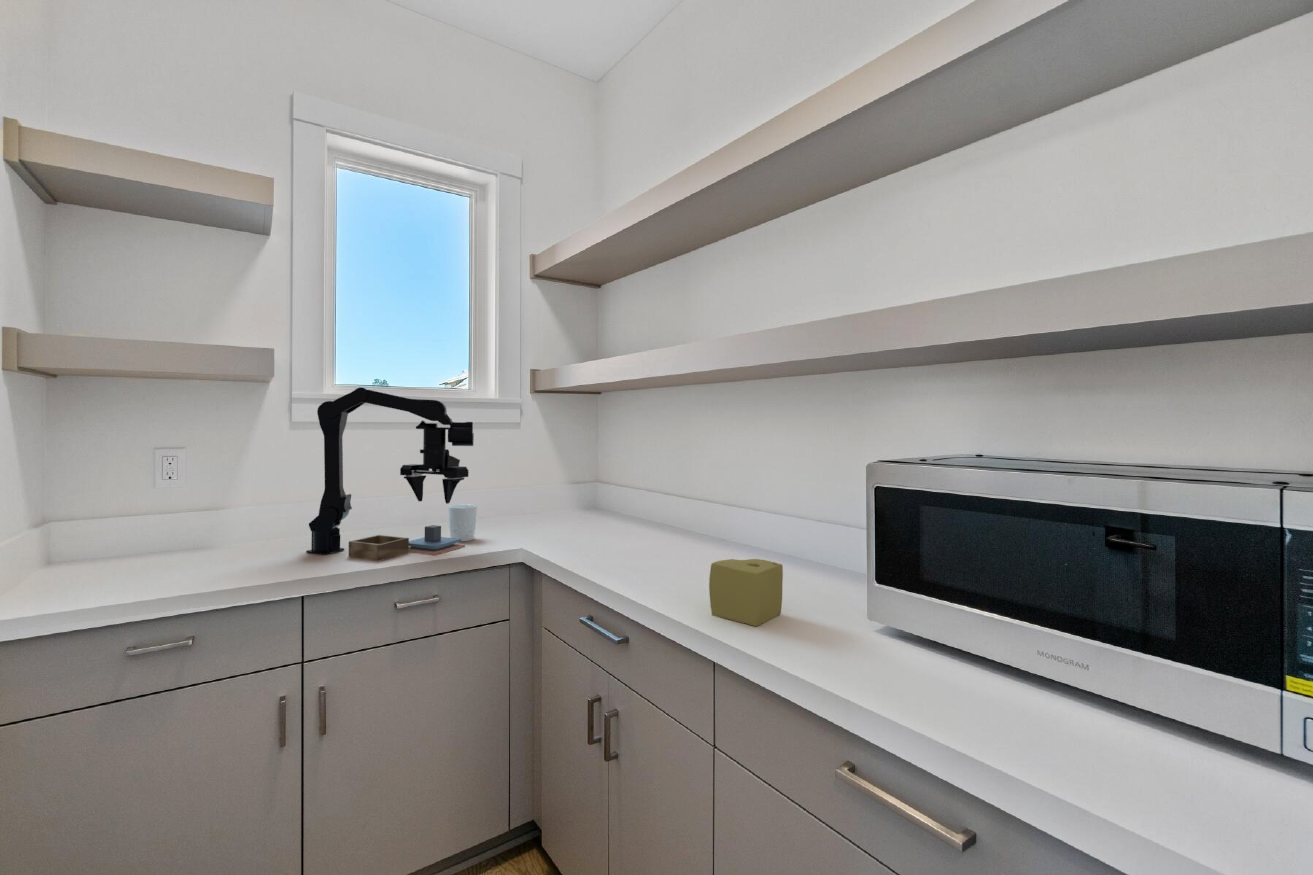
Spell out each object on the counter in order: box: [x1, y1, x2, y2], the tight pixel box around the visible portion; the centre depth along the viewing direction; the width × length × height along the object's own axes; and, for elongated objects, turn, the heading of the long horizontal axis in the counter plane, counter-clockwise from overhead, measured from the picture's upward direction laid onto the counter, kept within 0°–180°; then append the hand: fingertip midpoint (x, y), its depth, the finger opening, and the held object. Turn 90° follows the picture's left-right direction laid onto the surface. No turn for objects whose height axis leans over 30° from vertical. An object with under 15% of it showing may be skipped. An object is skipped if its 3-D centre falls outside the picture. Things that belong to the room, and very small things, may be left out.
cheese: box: [708, 558, 784, 627], centre depth 110 cm, size 10×11×10 cm
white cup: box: [448, 503, 478, 542], centre depth 174 cm, size 8×8×10 cm
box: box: [348, 534, 410, 562], centre depth 152 cm, size 10×10×4 cm
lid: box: [409, 524, 462, 551], centre depth 161 cm, size 11×11×6 cm
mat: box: [409, 543, 466, 556], centre depth 161 cm, size 12×12×1 cm
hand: (433, 502), depth 160 cm, fingers open, 9 cm apart
